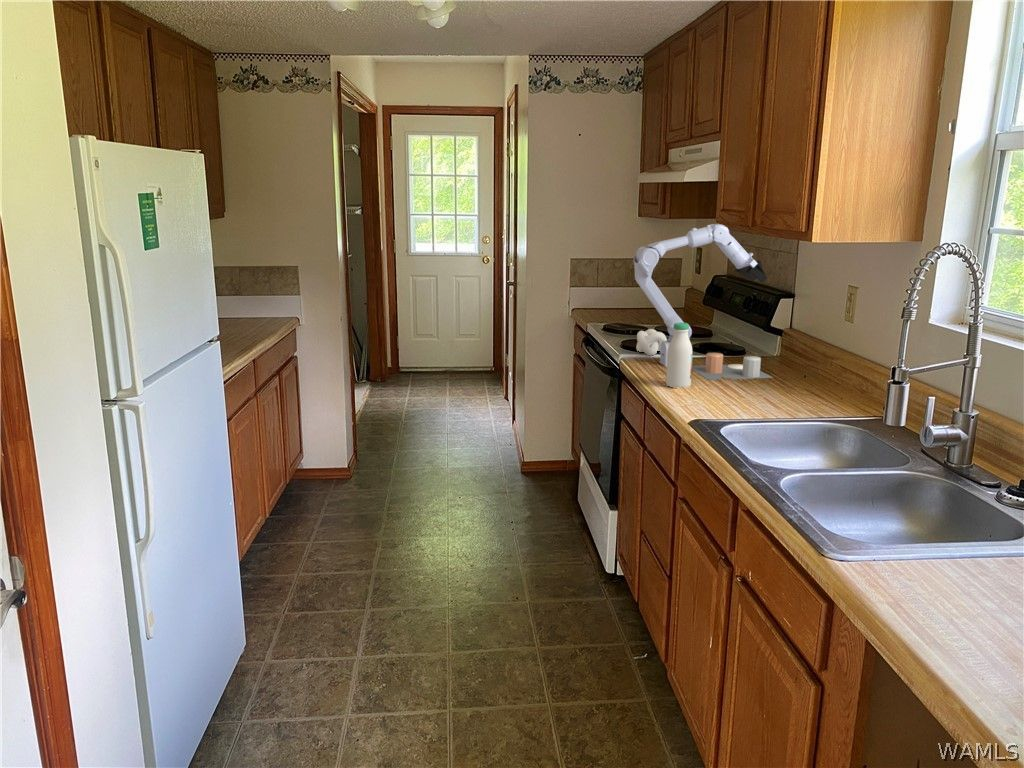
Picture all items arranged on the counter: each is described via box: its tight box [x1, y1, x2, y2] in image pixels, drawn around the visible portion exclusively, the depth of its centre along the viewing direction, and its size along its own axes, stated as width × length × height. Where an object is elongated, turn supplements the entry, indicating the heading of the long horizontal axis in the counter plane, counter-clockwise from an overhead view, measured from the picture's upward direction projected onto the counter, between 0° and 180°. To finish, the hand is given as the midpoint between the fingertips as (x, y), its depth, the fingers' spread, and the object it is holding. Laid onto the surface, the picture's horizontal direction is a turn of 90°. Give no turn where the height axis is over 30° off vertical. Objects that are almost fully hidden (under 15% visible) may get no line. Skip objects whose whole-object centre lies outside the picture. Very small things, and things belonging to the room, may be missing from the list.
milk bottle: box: [665, 322, 693, 389], centre depth 233 cm, size 8×8×20 cm
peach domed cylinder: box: [705, 352, 724, 374], centre depth 251 cm, size 5×5×6 cm
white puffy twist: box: [635, 328, 668, 357], centre depth 281 cm, size 11×12×9 cm
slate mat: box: [692, 363, 774, 381], centre depth 252 cm, size 22×20×1 cm
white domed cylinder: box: [742, 355, 762, 377], centre depth 246 cm, size 5×5×6 cm
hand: (759, 279), depth 258 cm, fingers open, 7 cm apart
